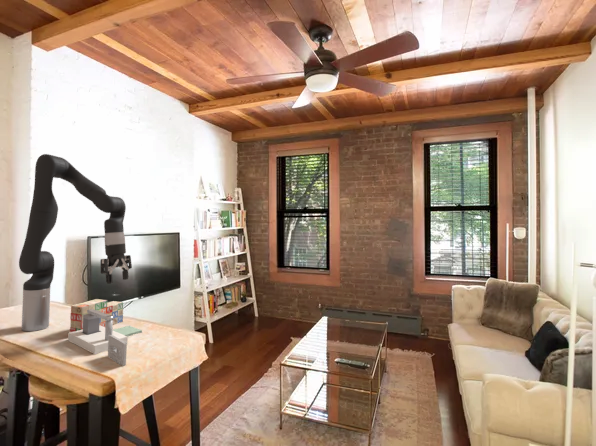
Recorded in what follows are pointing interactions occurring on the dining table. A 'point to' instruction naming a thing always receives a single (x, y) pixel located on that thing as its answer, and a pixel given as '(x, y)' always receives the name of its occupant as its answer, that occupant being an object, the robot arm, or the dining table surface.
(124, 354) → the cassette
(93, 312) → the clip
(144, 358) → the dining table surface
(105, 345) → the socket block
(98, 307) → the stack of blocks
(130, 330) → the mat
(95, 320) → the plug
